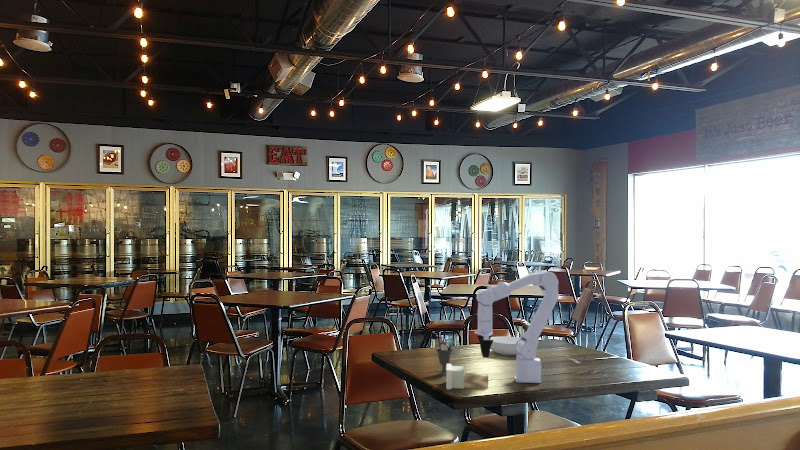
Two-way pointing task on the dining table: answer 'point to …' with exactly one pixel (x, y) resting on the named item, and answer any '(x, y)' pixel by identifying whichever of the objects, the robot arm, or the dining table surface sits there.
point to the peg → (475, 380)
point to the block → (457, 376)
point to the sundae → (444, 355)
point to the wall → (449, 376)
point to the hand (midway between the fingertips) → (484, 355)
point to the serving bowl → (504, 345)
